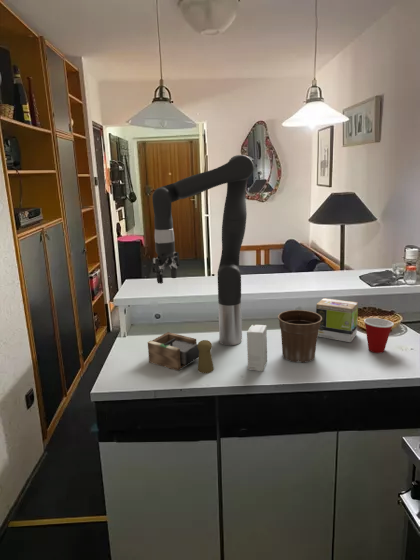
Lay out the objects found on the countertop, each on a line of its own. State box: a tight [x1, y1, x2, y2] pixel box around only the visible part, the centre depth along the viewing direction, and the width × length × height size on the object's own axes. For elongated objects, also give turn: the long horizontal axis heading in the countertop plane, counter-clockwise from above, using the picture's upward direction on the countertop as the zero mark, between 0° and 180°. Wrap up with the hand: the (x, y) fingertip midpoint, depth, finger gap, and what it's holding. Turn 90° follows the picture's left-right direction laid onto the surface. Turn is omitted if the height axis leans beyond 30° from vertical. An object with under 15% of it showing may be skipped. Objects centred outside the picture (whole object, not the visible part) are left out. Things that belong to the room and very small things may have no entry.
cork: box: [197, 339, 215, 374], centre depth 155 cm, size 6×6×11 cm
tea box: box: [315, 297, 359, 343], centre depth 180 cm, size 15×10×15 cm, turn 58°
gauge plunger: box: [164, 338, 199, 366], centre depth 159 cm, size 10×10×8 cm
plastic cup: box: [363, 317, 394, 354], centre depth 166 cm, size 11×11×12 cm
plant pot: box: [277, 309, 322, 364], centre depth 162 cm, size 16×16×16 cm
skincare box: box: [246, 324, 268, 372], centre depth 156 cm, size 8×6×15 cm
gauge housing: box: [147, 331, 198, 371], centre depth 163 cm, size 14×12×8 cm
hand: (167, 280), depth 170 cm, fingers open, 8 cm apart
